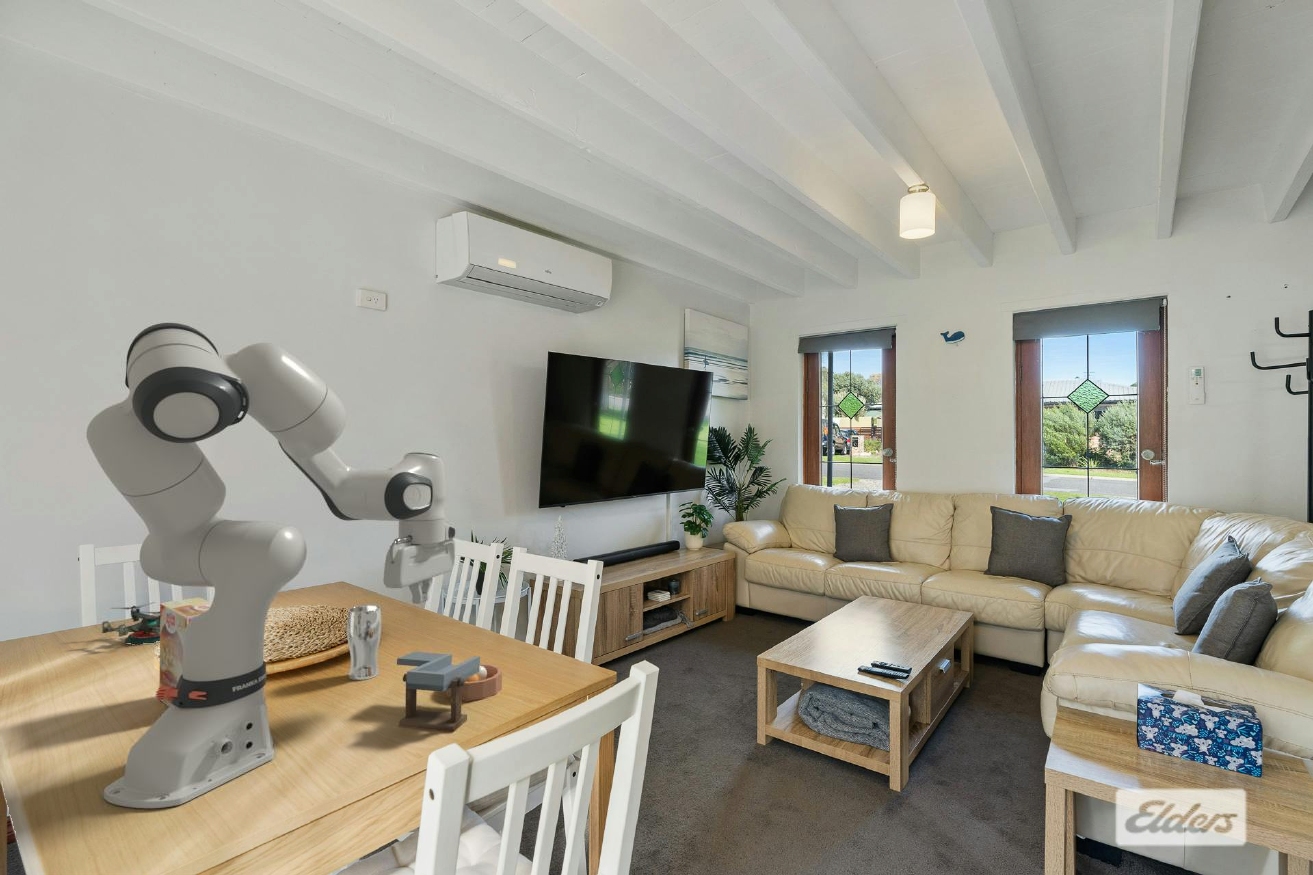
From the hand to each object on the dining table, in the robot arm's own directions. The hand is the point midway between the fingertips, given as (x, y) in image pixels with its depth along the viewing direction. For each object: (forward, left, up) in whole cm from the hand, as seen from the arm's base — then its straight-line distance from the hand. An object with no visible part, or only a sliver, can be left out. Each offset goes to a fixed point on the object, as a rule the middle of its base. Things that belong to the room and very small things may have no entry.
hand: (420, 602), depth 124 cm
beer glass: (+11, +20, -20) cm, 31 cm away
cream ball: (+10, -8, -18) cm, 22 cm away
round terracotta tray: (+8, -8, -20) cm, 23 cm away
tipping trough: (-4, -4, -14) cm, 15 cm away
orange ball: (+6, -8, -18) cm, 20 cm away
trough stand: (-8, -8, -20) cm, 23 cm away
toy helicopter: (+21, +92, -20) cm, 97 cm away
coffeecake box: (-9, +44, -20) cm, 50 cm away
